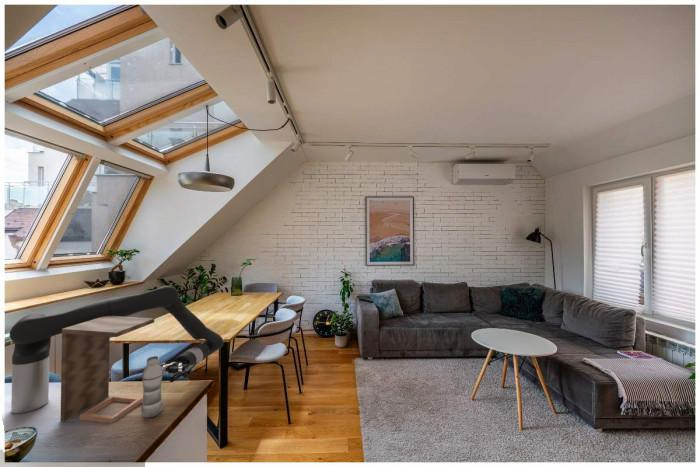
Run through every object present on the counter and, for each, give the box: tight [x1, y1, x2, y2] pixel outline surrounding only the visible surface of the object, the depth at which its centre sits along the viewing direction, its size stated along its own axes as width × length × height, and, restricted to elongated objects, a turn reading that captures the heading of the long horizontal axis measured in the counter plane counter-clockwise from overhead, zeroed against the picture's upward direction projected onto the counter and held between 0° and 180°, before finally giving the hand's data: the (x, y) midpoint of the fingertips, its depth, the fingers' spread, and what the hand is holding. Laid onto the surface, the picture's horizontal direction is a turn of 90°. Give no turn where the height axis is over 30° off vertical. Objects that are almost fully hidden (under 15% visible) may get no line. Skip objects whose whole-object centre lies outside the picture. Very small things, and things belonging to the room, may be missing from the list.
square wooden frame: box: [79, 394, 143, 424], centre depth 106 cm, size 12×12×2 cm
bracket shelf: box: [60, 316, 155, 423], centre depth 106 cm, size 16×20×32 cm
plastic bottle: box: [140, 355, 164, 418], centre depth 104 cm, size 6×7×20 cm
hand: (160, 378), depth 107 cm, fingers open, 8 cm apart
